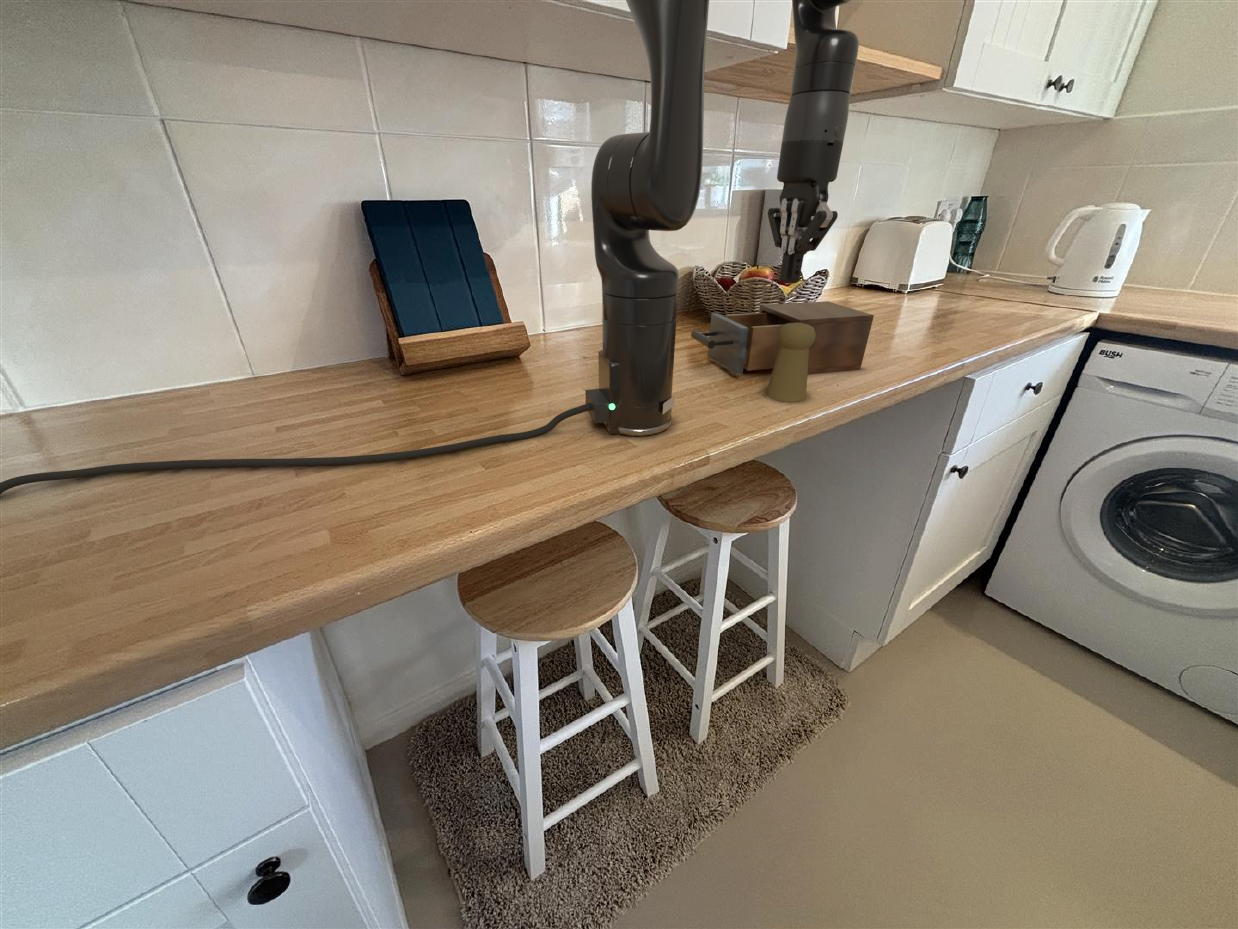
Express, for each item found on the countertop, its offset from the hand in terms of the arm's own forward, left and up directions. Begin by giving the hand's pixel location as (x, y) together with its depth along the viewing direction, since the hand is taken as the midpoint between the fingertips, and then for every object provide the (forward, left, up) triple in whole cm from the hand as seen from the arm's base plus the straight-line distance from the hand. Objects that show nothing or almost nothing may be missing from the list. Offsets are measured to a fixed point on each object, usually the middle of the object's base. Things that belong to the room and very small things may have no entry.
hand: (788, 281), depth 71 cm
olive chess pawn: (+1, -3, -17) cm, 17 cm away
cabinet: (+14, +11, -16) cm, 24 cm away
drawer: (+1, +11, -16) cm, 19 cm away
